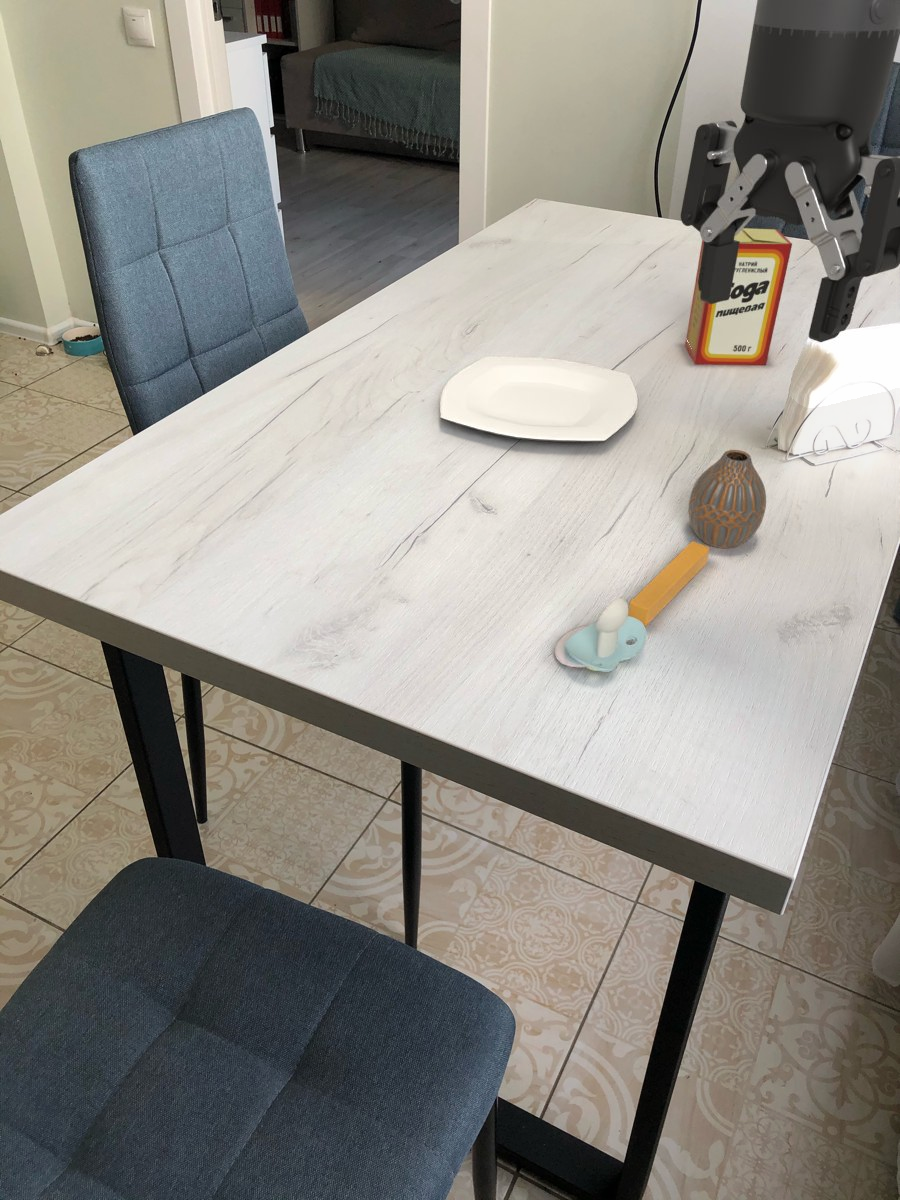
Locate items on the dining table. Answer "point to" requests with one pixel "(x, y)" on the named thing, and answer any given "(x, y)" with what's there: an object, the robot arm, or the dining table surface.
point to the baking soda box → (742, 304)
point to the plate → (539, 399)
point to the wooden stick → (668, 583)
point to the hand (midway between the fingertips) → (765, 318)
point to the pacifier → (603, 640)
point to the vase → (728, 501)
